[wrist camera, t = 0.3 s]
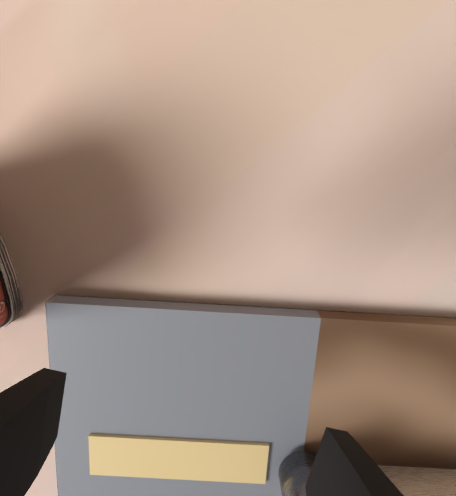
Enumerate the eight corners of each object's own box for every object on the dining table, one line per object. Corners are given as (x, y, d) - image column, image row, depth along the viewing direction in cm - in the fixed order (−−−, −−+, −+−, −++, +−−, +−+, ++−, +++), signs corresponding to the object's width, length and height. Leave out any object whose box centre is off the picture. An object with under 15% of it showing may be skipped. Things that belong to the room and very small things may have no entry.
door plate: (284, 565, 24) (286, 586, 23) (69, 554, 24) (61, 574, 22) (316, 310, 19) (321, 319, 18) (54, 295, 19) (43, 303, 18)
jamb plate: (466, 574, 24) (476, 592, 23) (284, 565, 24) (286, 582, 23) (538, 323, 19) (554, 331, 18) (316, 310, 19) (320, 318, 18)
